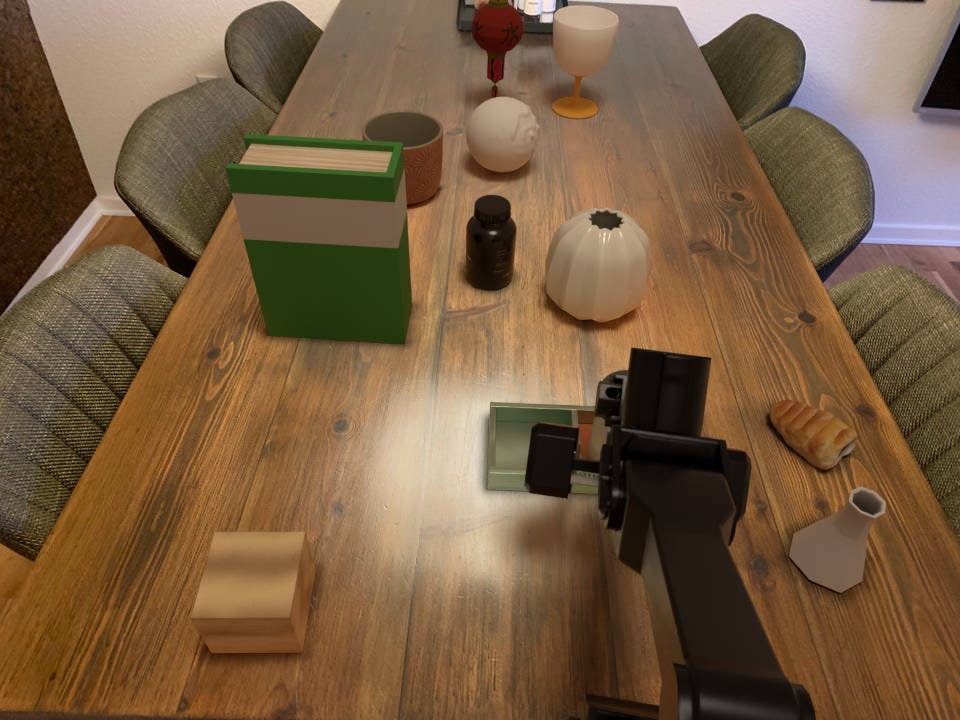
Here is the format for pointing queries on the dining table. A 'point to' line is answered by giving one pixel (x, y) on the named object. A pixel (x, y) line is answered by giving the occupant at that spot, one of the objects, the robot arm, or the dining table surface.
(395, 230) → the hardback book
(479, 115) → the decorative ball
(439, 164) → the planter
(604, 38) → the cup
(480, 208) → the supplement bottle
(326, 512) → the dining table surface
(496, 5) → the lantern
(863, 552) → the flask
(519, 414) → the tray
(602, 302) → the vase
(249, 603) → the riser
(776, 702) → the robot arm
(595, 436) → the jar
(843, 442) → the pastry
